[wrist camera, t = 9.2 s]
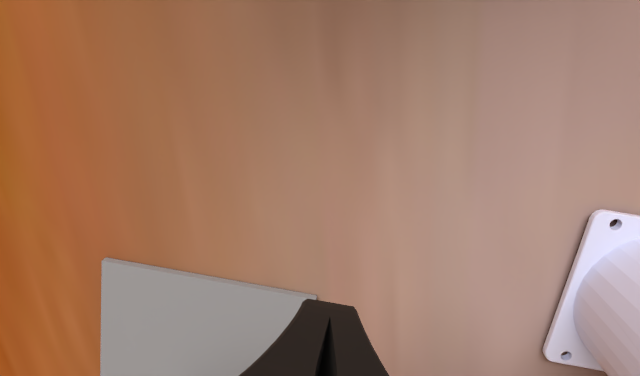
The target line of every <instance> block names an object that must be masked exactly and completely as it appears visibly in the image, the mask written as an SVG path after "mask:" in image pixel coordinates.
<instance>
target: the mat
mask: <svg viewBox="0 0 640 376" xmlns="http://www.w3.org/2000/svg"><path fill="white" fill-rule="evenodd" d="M316 298H317V295H312V294H306V293H301V292H295V291H290V290H284V289H279V288H273V287H268V286H262V285H256V284H251V283H245V282H240V281H234V280H229V279H223V278H218V277H212V276H206V275H201V274H195V273H190V272H184V271H179V270H173V269H168V268H162V267H156V266H151V265H145V264H140V263H134V262H129V261H123V260H118V259H112V258H105V259H103V260H102V287H101V371H100V376H239V375H240V374H241V373H242V372H244V371H245V370H246V369H247V368H248V367H249V366H251V365H252V364H253V363H254V362H255V361H256V360H257V359H258V358H259V357H260V356H261V355H262V354H263V353H264V352H265V351H266V350H267V349H268V348H269V347H270V346H271V345H272V344H273V343H274V342H275V340H276V339H277V338H278V337H279V336H280V335H281V333H282V332H283V331H284V330H285V328H286V327H287V326H288V325H289V323H290V322H291V321H292V319H293V318H294V316H295V315H296V313H297V312H298V310H299V308H300V306H301V304H302V302H303V301H304V300H306V299H313V300H316Z"/></svg>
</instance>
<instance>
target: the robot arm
mask: <svg viewBox="0 0 640 376" xmlns="http://www.w3.org/2000/svg"><path fill="white" fill-rule="evenodd" d="M614 219H617V223H616V225H614V226H613V227H610V223H611V221H612V220H614ZM565 351H568V353H567V354H565V355H561V354H562V353H563V352H565ZM543 353H544V355H545V357H546V358H547V359H548V360H549V361H551V362H556V363H561V364H567V365H572V366H578V367H583V368H589V369H594V370H600V371H605V373H606V374H607V375H608V376H640V216H639V215H633V214H627V213H621V212H615V211H610V210H597V211H595V212H594V213H593V214H592V215H591V216H590V218H589V221H588V223H587V226H586V229H585V232H584V235H583V237H582V240H581V243H580V246H579V249H578V251H577V254H576V257H575V260H574V263H573V265H572V268H571V271H570V274H569V277H568V279H567V282H566V285H565V288H564V291H563V293H562V296H561V299H560V302H559V305H558V307H557V310H556V313H555V316H554V319H553V321H552V324H551V327H550V330H549V333H548V335H547V338H546V341H545V344H544V347H543ZM239 376H389V375H388V373H387V371H386V370H385V368H384V366H383V365H382V363H381V361H380V359H379V358H378V356H377V354H376V352H375V350H374V348H373V347H372V345H371V343H370V341H369V339H368V337H367V334H366V332H365V330H364V328H363V326H362V323H361V321H360V318H359V316H358V313H357V311H356V309H355V308H354V307H353V306H347V305H341V304H336V303H330V302H324V301H319V300H313V299H306V300H304V301H303V302H302V304H301V306H300V308H299V310H298V312H297V313H296V315H295V316H294V318H293V319H292V321H291V322H290V323H289V325H288V326H287V327H286V328H285V330H284V331H283V332H282V333H281V335H280V336H279V337H278V338H277V339H276V340H275V342H274V343H273V344H272V345H271V346H270V347H269V348H268V349H267V350H266V351H265V352H264V353H263V354H262V355H261V356H260V357H259V358H258V359H257V360H256V361H255V362H254V363H253V364H252V365H251V366H249V367H248V368H247V369H246V370H245V371H244V372H242V373H241V374H240V375H239Z"/></svg>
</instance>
